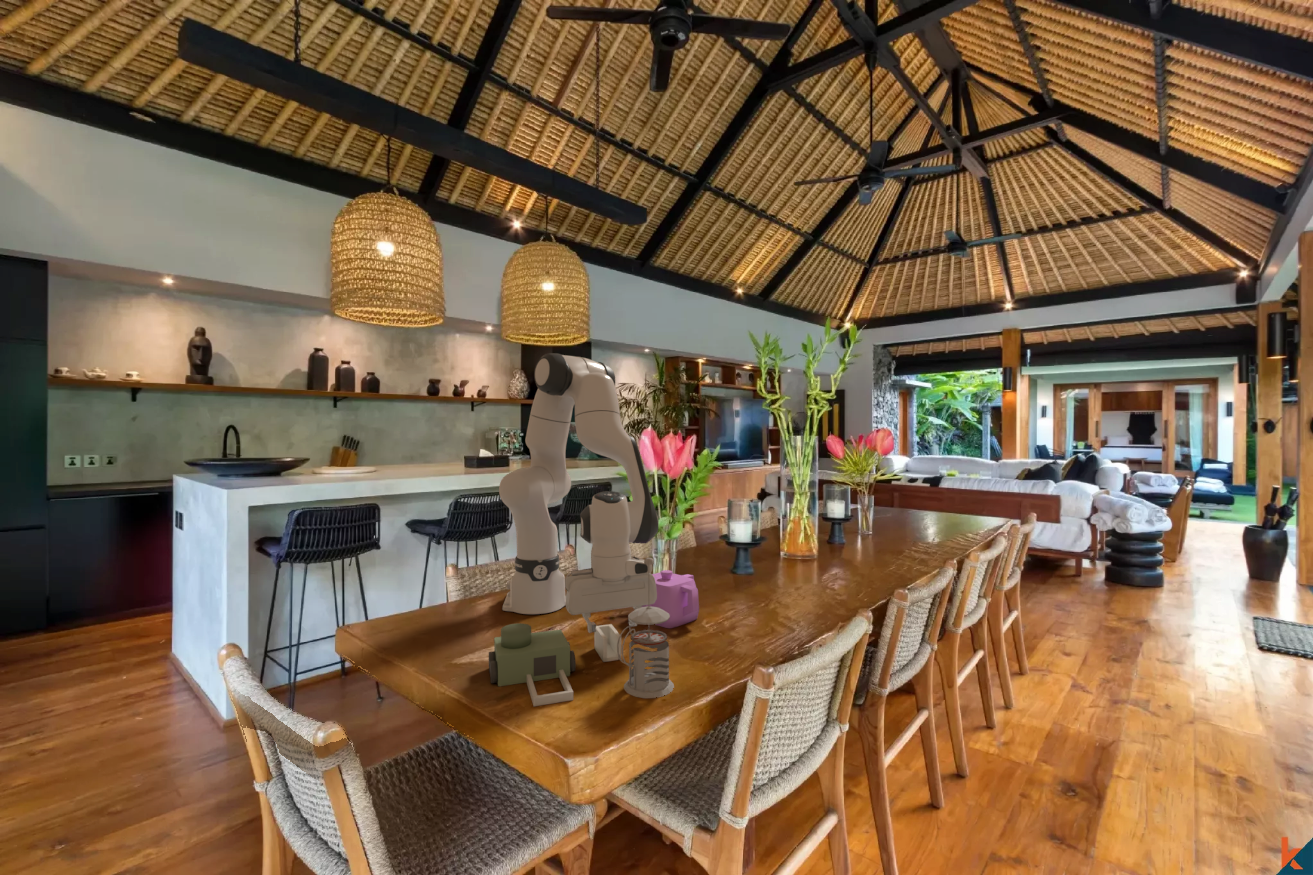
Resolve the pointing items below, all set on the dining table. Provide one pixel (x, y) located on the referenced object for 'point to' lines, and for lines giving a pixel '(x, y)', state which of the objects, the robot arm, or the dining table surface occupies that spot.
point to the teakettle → (676, 598)
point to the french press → (648, 653)
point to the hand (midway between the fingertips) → (612, 628)
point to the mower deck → (532, 660)
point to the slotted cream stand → (607, 642)
